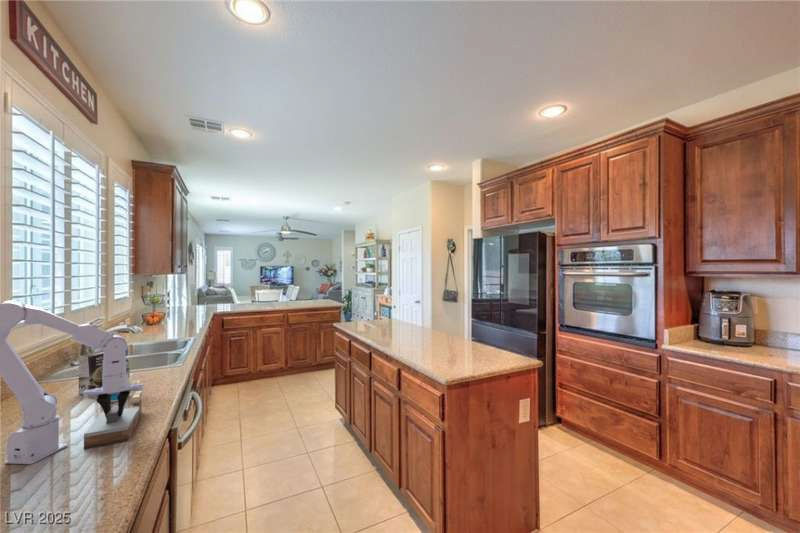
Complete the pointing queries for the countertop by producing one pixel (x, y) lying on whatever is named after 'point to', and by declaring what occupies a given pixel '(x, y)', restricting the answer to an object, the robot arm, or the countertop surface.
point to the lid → (112, 421)
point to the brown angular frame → (113, 433)
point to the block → (137, 397)
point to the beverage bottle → (114, 396)
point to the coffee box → (90, 371)
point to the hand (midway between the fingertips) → (114, 416)
